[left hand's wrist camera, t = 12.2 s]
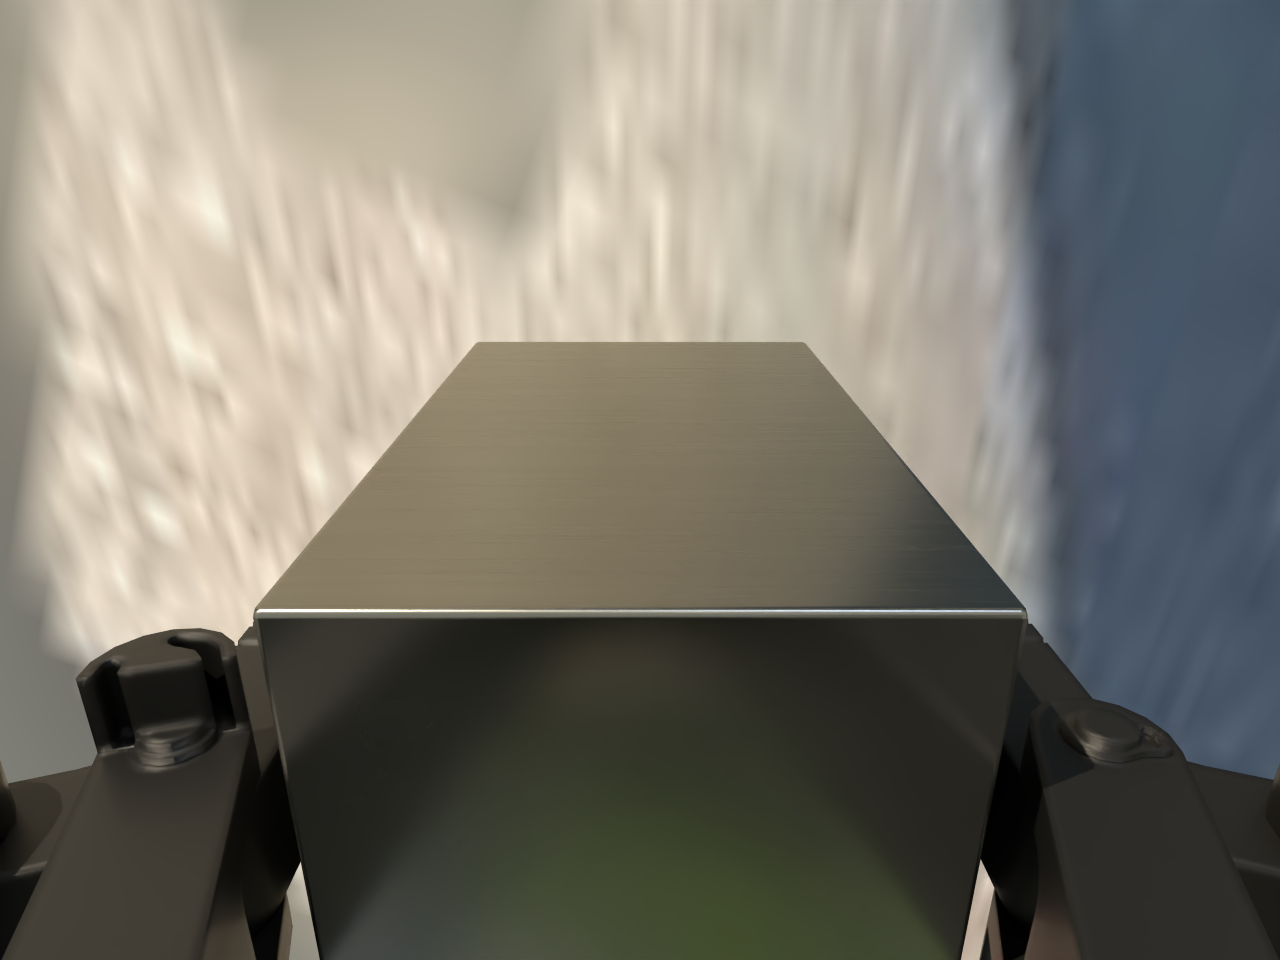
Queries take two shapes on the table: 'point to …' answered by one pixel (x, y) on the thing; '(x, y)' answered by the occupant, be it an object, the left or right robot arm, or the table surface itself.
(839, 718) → the bar
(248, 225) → the table surface
